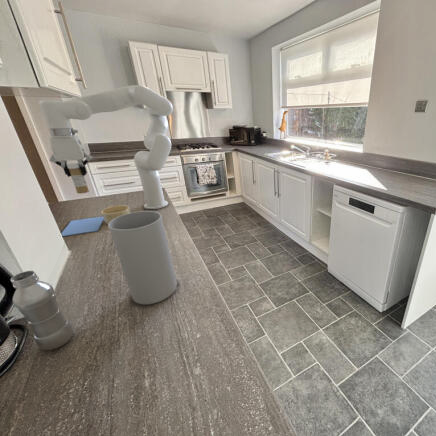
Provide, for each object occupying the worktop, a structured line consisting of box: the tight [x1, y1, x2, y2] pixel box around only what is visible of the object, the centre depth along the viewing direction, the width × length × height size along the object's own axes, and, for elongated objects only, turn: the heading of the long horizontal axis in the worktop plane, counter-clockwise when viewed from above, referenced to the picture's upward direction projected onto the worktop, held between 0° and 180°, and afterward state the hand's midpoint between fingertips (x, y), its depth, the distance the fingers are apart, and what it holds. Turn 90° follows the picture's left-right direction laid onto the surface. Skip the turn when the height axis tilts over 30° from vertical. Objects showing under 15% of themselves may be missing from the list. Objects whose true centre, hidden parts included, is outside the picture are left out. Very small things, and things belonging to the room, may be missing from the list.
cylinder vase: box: [107, 210, 178, 305], centre depth 70 cm, size 12×12×25 cm
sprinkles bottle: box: [67, 162, 90, 194], centre depth 108 cm, size 5×5×14 cm
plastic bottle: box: [10, 270, 74, 351], centre depth 55 cm, size 6×7×20 cm
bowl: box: [100, 204, 132, 225], centre depth 121 cm, size 12×12×6 cm
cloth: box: [60, 216, 104, 237], centre depth 116 cm, size 18×14×1 cm
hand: (77, 175), depth 108 cm, fingers closed on sprinkles bottle, 4 cm apart
